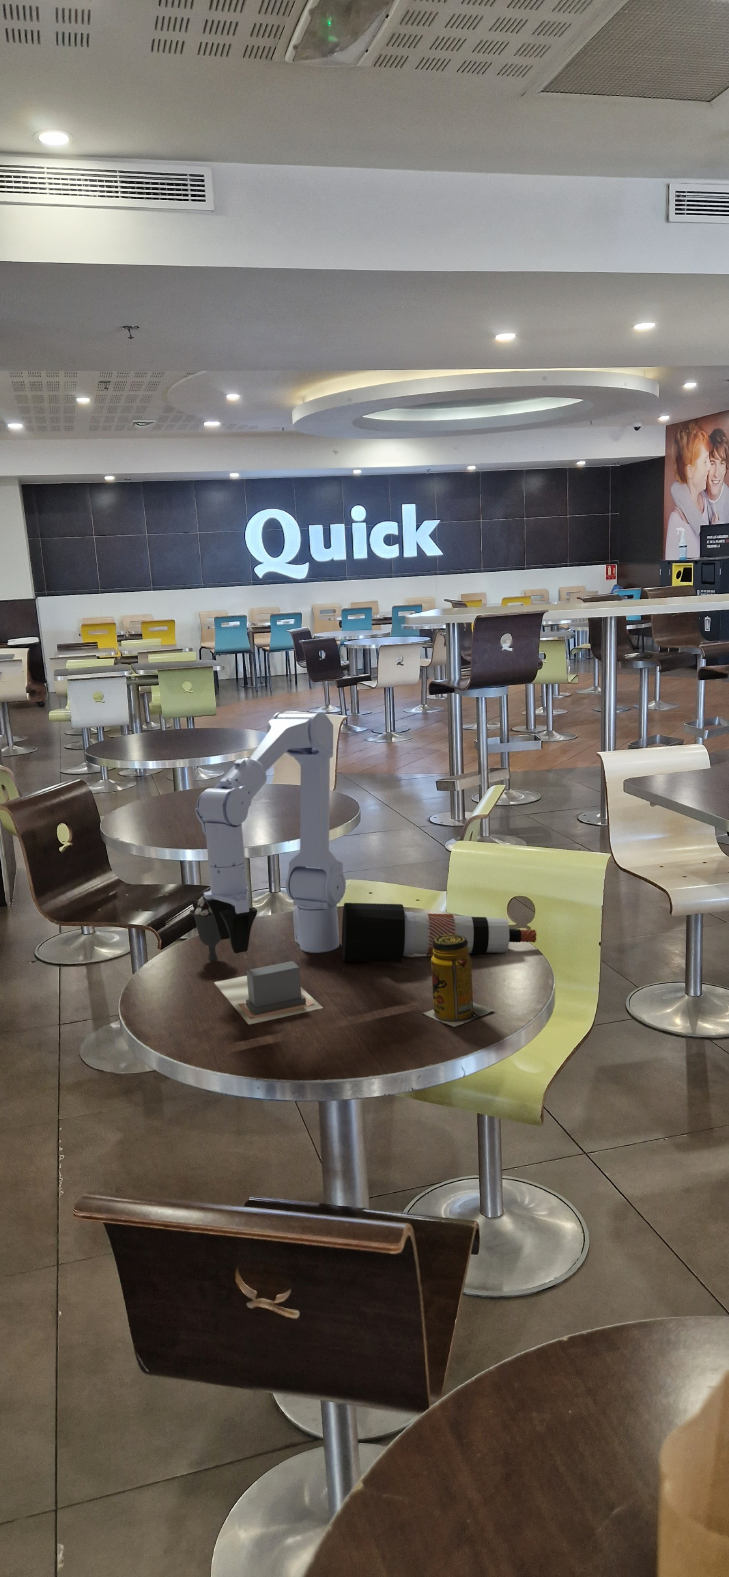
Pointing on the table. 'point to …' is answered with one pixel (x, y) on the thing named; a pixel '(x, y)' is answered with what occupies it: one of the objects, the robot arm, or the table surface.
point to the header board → (239, 998)
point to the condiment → (453, 982)
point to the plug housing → (273, 984)
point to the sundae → (206, 926)
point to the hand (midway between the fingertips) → (233, 944)
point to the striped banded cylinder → (417, 932)
